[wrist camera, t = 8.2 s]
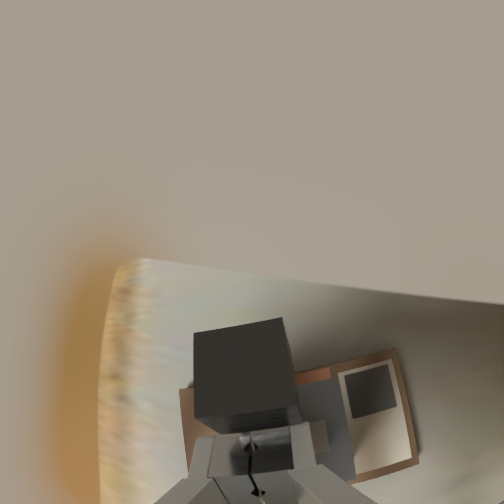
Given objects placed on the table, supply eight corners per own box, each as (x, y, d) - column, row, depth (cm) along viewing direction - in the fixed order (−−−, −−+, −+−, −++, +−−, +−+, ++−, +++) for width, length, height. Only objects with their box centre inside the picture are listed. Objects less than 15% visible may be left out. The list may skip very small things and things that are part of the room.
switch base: (391, 351, 21) (424, 318, 15) (414, 461, 17) (458, 476, 10) (184, 390, 23) (132, 374, 16) (198, 498, 18) (149, 524, 11)
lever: (308, 422, 15) (281, 317, 7) (314, 457, 13) (296, 405, 5) (270, 429, 15) (193, 332, 7) (275, 463, 13) (194, 417, 6)
